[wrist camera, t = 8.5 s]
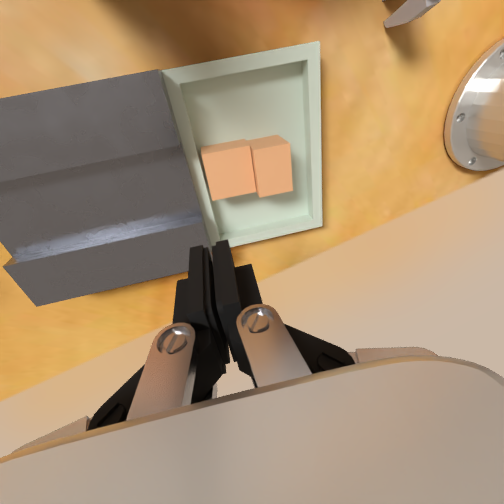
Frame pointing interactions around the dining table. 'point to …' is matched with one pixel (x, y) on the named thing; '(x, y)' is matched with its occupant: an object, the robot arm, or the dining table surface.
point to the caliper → (409, 12)
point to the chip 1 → (229, 169)
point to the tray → (254, 134)
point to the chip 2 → (271, 165)
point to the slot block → (95, 188)
